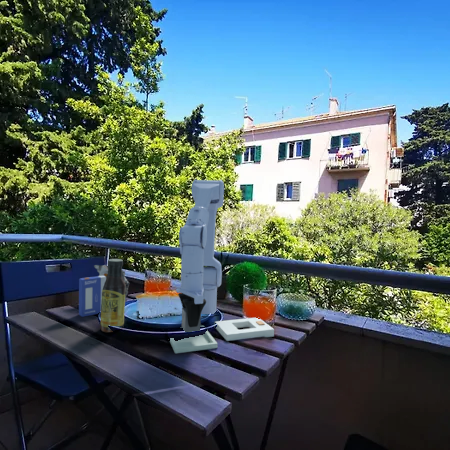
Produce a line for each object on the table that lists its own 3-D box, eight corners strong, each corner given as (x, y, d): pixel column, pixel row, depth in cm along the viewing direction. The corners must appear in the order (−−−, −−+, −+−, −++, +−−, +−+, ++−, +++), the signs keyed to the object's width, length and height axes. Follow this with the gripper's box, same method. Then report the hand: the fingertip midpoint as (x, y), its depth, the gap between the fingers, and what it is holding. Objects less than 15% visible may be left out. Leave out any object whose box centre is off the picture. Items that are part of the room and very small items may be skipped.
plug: (181, 326, 83) (182, 308, 83) (196, 325, 84) (196, 306, 84) (185, 332, 79) (185, 312, 79) (200, 330, 81) (200, 311, 80)
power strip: (214, 328, 92) (214, 320, 92) (257, 323, 97) (258, 316, 96) (226, 342, 82) (227, 333, 82) (273, 336, 87) (274, 328, 87)
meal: (89, 301, 114) (89, 265, 113) (98, 298, 118) (99, 264, 117) (120, 308, 107) (121, 270, 107) (129, 305, 111) (130, 268, 111)
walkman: (82, 317, 98) (82, 278, 97) (78, 314, 100) (79, 277, 99) (106, 311, 103) (107, 275, 103) (103, 309, 105) (103, 274, 105)
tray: (166, 334, 86) (166, 329, 86) (203, 330, 90) (203, 325, 90) (175, 354, 74) (175, 348, 74) (217, 349, 78) (217, 343, 78)
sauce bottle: (95, 332, 86) (96, 260, 85) (109, 324, 92) (110, 257, 91) (116, 335, 85) (117, 262, 84) (129, 327, 91) (130, 258, 90)
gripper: (171, 266, 87) (170, 315, 87) (183, 278, 73) (181, 335, 74) (196, 266, 89) (195, 313, 90) (212, 277, 75) (210, 332, 76)
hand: (191, 323), depth 82 cm, fingers closed on plug, 4 cm apart
